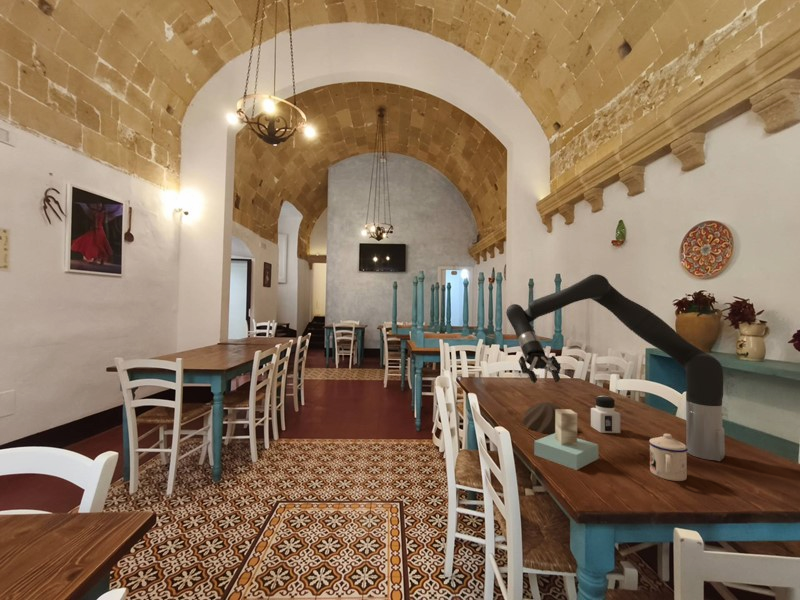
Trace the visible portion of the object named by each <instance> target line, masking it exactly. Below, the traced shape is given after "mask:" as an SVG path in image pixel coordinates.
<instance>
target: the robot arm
mask: <svg viewBox="0 0 800 600" xmlns="http://www.w3.org/2000/svg"><path fill="white" fill-rule="evenodd" d="M584 300H593V301H594V302H596V303H597V304H598V305H601V306H602V307H604V308H605V309H607V310H608V311H609V312H610V313H612V314H613V315H614V316H615V317H616V318H617V319H618V320H619V321H620V322H621V323H622V324H623V325H624V326H625V327H627V328H628V329H629V330H630V331H631V332H633V333H634V334H635V335H637V336H638V338H639V337H640V338H641V339H642V340H644V341H645V342H646V343H648V344H650V345H651V346H653V347H654V348H656V349H658V350H660V351H662V352H664V353H665V354H666V355H668V356H669V357H670V358H672V359H673V360H674V361H675V362H676V363H677V364H678V365H680V366H681V367H682V368H683V369H684V370H685V371H686V381H685V382H686V391H685V401H686V402H685V415H686V416H685V417H686V418H685V419H686V420H685V423H686V424H685V425H686V426H685V428H686V430H685V431H686V432H685V433H686V438H685V439H686V444H685V445H686V447H687V449H688V450H687V451H686V453H687V454H689V455H691V456H693V457H697V458H700V459H704V460H709V461H717V462H721V461H723V459H724V458H725V455H726V454H725V428H724V427H723V398H724V369H723V366H722V364H721V362H720V361H719V360H718V359H717V358H716V357H715V356H713V355H711V354H709V353H706V352H705V351H704V350H701V349H700V348H698V347H696V346H695V345H693V344H692V343H690V342H689V341H687V340H686V339H685V338H683V337H682V336H681V335H680V334H679V333H678V332H677V331H676V330H675V329H674V328H673V327H671V326H670V325H669V324H668V323H667V322H666V321H664V320H663V319H662V318H661V317H659V316H658V315H657V314H655V313H654V312H652V311H651V310H649V309H648V308H646V307H645V306H643V305H641V304H639V303H637V302H635V301H633V300H631V299H629V298H628V297H626V296H625V295H624V294H622V293H621V292H620V291H618V290H617V289H616V288H615V287H613V285H612V284H610V282H609V280H608V279H607V278H606V276H604V275H602V274H594V273H593V274H590V275H588V276H587V277H586V278H583V279H582V280H580V281H578V282H576V283H574V284H572V285H571V286H569V287H567V288H564V289H561V290H558V291H556V292H554V293H550V294H547V295H544V296H541V297H540V298H537V299H534V300H532V301H530V302H529V304H528V308H527V309H525V310H524V308H523V307H522V306H521V305H519V304H517V303H516V304H515V303H513V304H511V305H509V306H508V307H507V308H506V317H507V320H508V322H509V324H511V327H512V328H513V331H514V333H515V335H516V338H517V341H518V343H519V346H520V347H519V348H520V349H521V351H522V354H523V355H521V356H520V357H519V359H518V364H519V367H520V369H521V372H522V374H527V375H528V377H529V379H530V382H532V383H533V384H535V383H537V381H538V378H537V375H536V373H535V371H534V369H535V370H540V369H541V370H543V369H544V370H545V371H548V372H549V373H551V375H552V378H553V380H554V383H559V382H560V379H561V377H560V375H559V372H560V370H561V369H562V367H561V365H560V363H559V361H558V360H557V358H556V357H555V355H551V357H548V356H546V355H547V354H546V352H545V349H544V347H543V345H542V343H541V341H540V339H539V336H538V335H537V334H536V332H535V330H534V328H533V326H532V324H531V323H532V322H533V321H534V320H536V319H538V318H539V317H542V316H546V315H548V314H551V313H555V312H556V311H558V310H560V309H562V308H564V307H566V306H568V305H571V304H574V303H577V302H580V301H584ZM527 365H529V367H528V366H527Z"/></svg>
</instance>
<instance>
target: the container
mask: <svg viewBox="0 0 800 600" xmlns="http://www.w3.org/2000/svg"><path fill="white" fill-rule="evenodd" d="M615 402H616V400H615V399H614V398H613V397H611V396H606V395H599V396H596V397H595V407H590V427H591V428H592V429H594V430H596V431H597V432H599V433H600V434H621V412H618V411H616V410H615V406H616V405H615Z"/></svg>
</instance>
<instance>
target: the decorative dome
mask: <svg viewBox="0 0 800 600" xmlns="http://www.w3.org/2000/svg"><path fill="white" fill-rule="evenodd" d="M555 409H563V408H562V407H560V406H559V405H557V404H555V403H552V402H548V401H542V402H537V403H536V404H534V405H532V406H530V407H529V408H528V409H526V411H525V413H524V418H523V420H522V423H521V424H522V425H523V424H524V425H523V426H525V425H526V426H527V427H526V426H525V427H526V429H527V428H528V429H527V430H530V429H532V431H535V432H537V433H540V434H549V435H551V434H554V433H555Z"/></svg>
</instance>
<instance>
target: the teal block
mask: <svg viewBox="0 0 800 600" xmlns="http://www.w3.org/2000/svg"><path fill="white" fill-rule="evenodd" d="M533 442H534V443H533V444H534V445H533V447H534V449H533V451H534V456H536V457H539V458H542V459H544V460H547V461H550V462H553V463H555V464H559V465H562V466H563V467H566V468H569V469H572V470H575V471H578V470H579V469H581V468H583V467H586V466H587V465H589V464H591V463H593V462H595V461H597V460H599V444H598V443H595V442H591V441H588V440H585V439H581V438H578V437H577V445H561V444H560V443H559V442H558V441H557V440H556V439H555V433H554V434H549V435H547V436H544V437H541V438H539V439H536V440H534V441H533Z"/></svg>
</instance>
